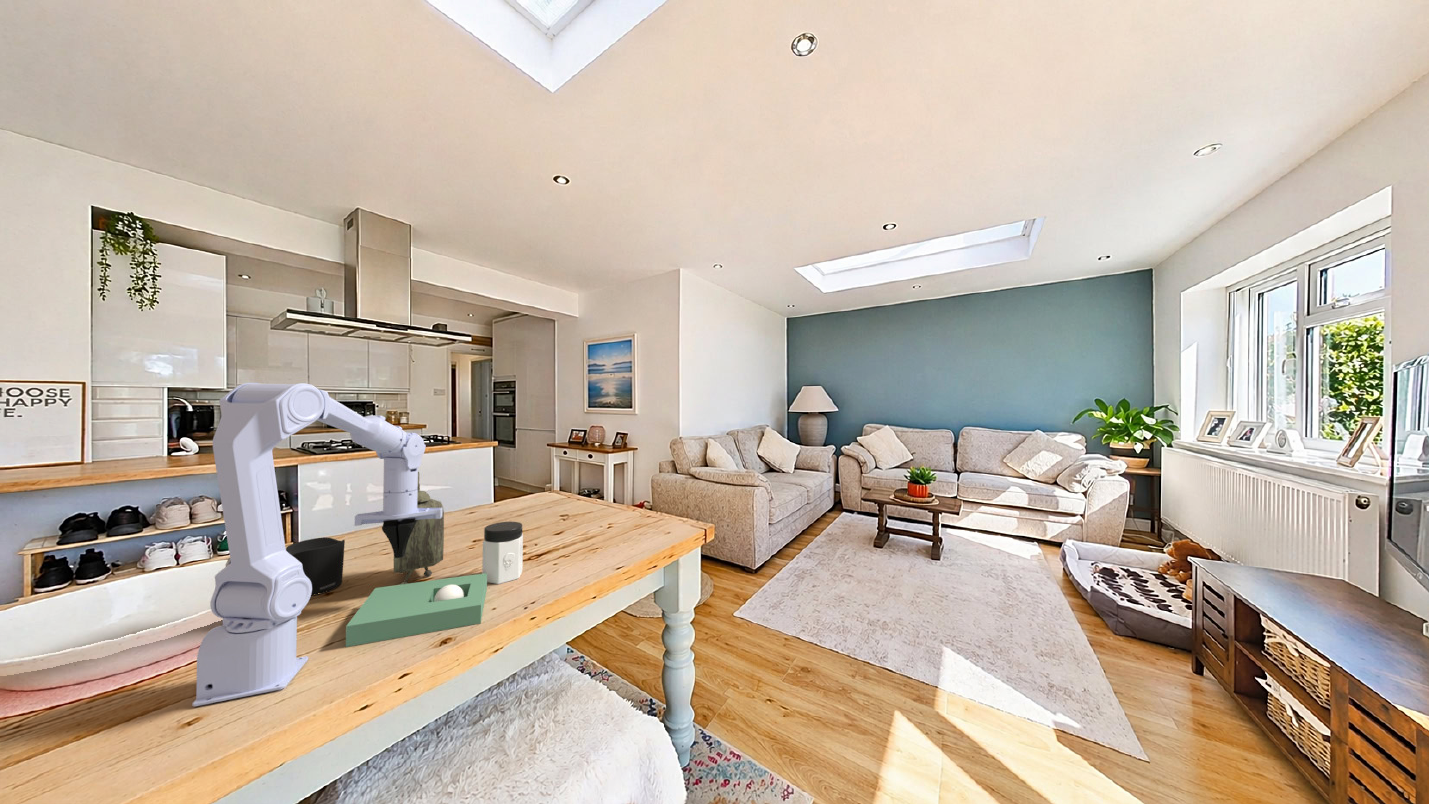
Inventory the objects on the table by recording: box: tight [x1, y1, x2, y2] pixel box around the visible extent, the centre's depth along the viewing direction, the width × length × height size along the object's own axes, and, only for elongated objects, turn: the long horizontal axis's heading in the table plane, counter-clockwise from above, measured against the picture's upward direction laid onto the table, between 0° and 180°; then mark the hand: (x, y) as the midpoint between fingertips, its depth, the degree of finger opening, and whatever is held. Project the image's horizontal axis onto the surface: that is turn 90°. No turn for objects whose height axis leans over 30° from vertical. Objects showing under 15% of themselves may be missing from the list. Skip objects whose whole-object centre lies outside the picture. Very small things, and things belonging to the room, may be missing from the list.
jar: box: [481, 521, 524, 585], centre depth 102 cm, size 9×8×12 cm
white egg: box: [434, 585, 464, 602], centre depth 84 cm, size 5×5×5 cm
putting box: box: [345, 573, 488, 648], centre depth 83 cm, size 20×16×4 cm
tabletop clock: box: [393, 471, 445, 585], centre depth 100 cm, size 14×9×25 cm, turn 37°
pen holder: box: [285, 536, 346, 596], centre depth 94 cm, size 9×9×10 cm
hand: (399, 556), depth 88 cm, fingers closed
